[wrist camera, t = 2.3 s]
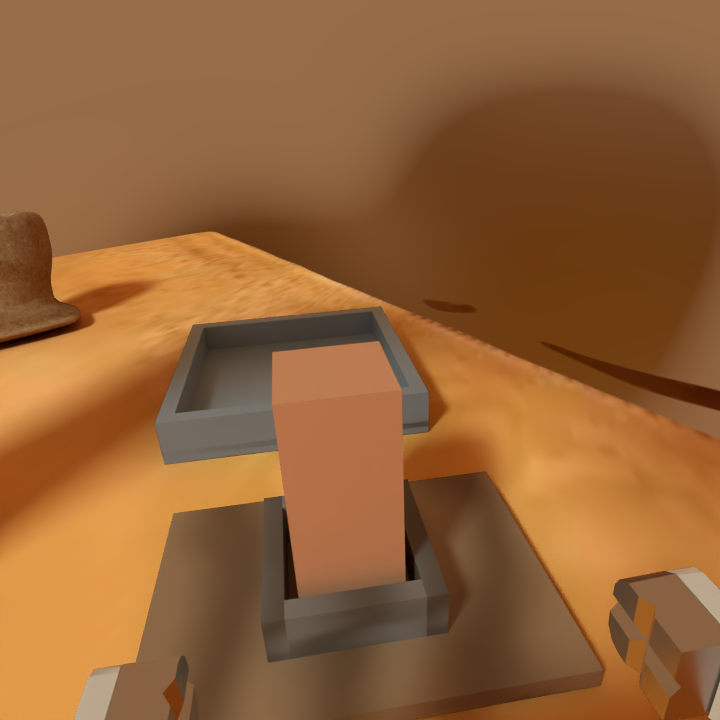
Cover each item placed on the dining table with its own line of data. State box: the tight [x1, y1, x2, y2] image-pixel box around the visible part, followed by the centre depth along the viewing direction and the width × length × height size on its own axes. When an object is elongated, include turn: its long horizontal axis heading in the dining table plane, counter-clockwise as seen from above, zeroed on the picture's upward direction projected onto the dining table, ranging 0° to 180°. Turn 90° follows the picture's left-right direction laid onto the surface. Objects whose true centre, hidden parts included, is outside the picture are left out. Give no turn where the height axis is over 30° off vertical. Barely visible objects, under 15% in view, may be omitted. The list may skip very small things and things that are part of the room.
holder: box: [136, 472, 604, 720], centre depth 28 cm, size 20×14×4 cm
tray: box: [155, 307, 429, 464], centre depth 49 cm, size 20×20×4 cm
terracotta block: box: [272, 341, 406, 598], centre depth 25 cm, size 5×5×12 cm
